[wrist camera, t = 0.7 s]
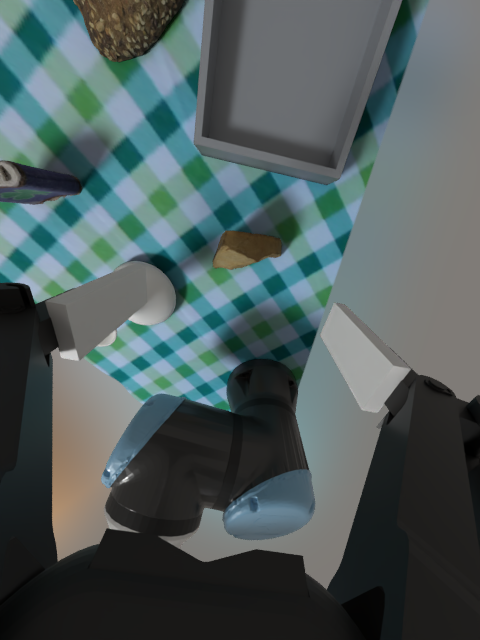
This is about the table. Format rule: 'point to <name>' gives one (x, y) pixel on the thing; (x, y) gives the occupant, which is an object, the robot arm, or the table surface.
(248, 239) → the rock
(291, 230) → the table surface
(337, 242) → the table surface
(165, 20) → the bread roll
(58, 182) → the flask
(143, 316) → the flower in vase
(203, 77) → the bin
